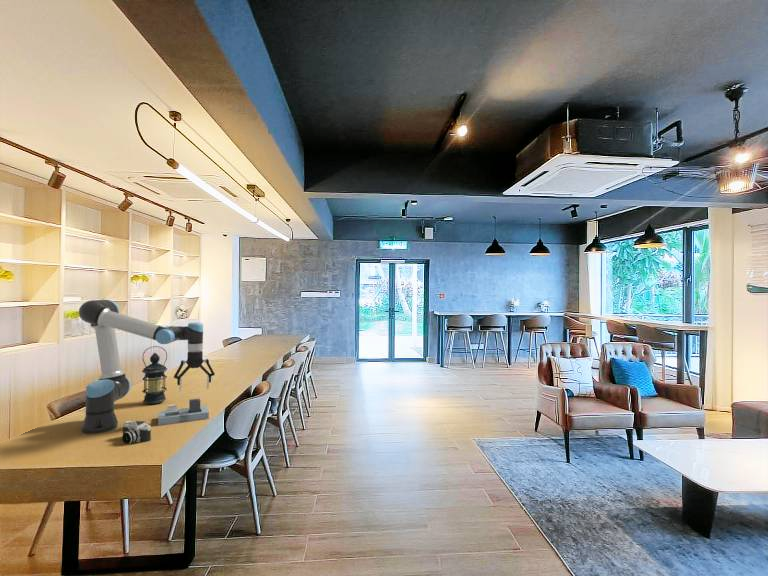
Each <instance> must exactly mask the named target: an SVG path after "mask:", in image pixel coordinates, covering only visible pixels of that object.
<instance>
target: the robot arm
mask: <svg viewBox="0 0 768 576" xmlns="http://www.w3.org/2000/svg"><path fill="white" fill-rule="evenodd" d="M78 316H79V317H80V319H81V320H82V321H83V322H85V323H87V324H90V327H91V328H93V329H94V333H95V339H96V345H97V352H98V357H99V362H100V363H99V365H100V369H101V375H100V376H98V380H96V381H95V380H94V381H92V382H90V383H88V384H87V385H86V386H85V393H84V394H85V417H84V420H83V422H82V425H81V427H80V432H81V433H82V434H87V435H93V434H100V433H102V434H103V433H106V432H110V431H114V430H116V429H117V428H118V427H119V422H118V419H117V415H116V413H115V402H117V401H119V400H121V399H123V398H124V397H126V395H128V393H129V392H130V390H131V381H130V379H129V378H127V377H126V372H124V371H123V370H122V367H121V361H120V355H119V349H118V347H119V346H118V341H117V335H116V329H117V330H118V331H122V332H126V333H129V334H134V335H137V336H140V337H142V338H147V339H150V340H152V341H153V340H154V341H156V342H157V343H159V344H160V345H168V344H171V343H173V342H176V341H187V357H186V358H187V359H186V360H184V359H181V360H180V364H179V366H178V368H177V370H176V372H175V374H174V375H173V379H176V380H177V386H179V392H180V393H181V392H182V377H183V376H184V375H185V374H186V373H187V372H188V371H189V370H190V369H199V368H200V369H201V370H202V371H203V372H204V373H205V374H206V375H207V376H206V390H210V388H209V387H210V383H212V376H215V375H216V374H215V372H214V370H213V368H212V366H211V364H210V362H209V361H210V360H209V358H205V359H203V358H204V357H203V356H204V355H203V354H204V352H203V350H204V346H203V343H204V325H203V322H189V323H188V324H187V326H183V325H181V326H178V325H177V326H174V325H170V326H162V325H158V324H155V323H152V322H148V321H145V320H141V319H139V318H135V317H131V316H129V315H125V314H123V313H120V308H119V306H118V304H117V303H116V302H114V301H113V300H109V299H97V300H96V299H93V300H92V299H91V300H87V301H86V302H83V303H82V304H81V305H80V307H79V309H78ZM203 363H204V364H206V365H207V368H208V369H209V371H208V370H207V369H206V367H204V366H203ZM186 364H187V366H186V367H184V369H183V370H182V368H183V366H184V365H186ZM181 370H182V372H181ZM180 372H181V373H180Z"/></svg>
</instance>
